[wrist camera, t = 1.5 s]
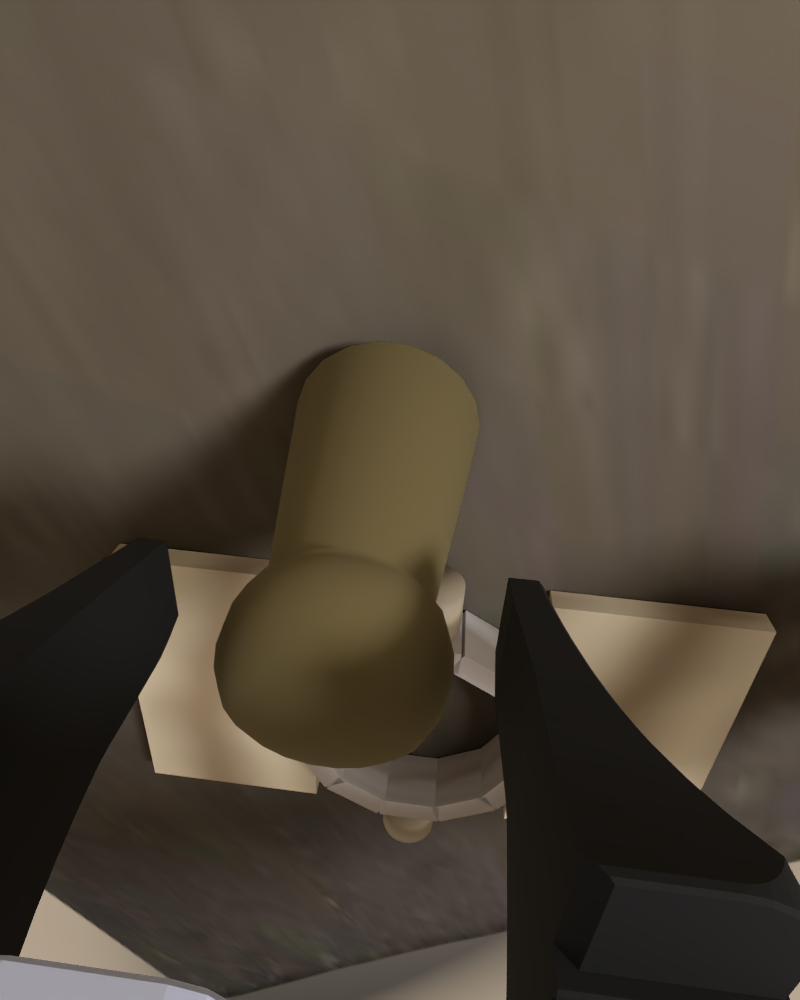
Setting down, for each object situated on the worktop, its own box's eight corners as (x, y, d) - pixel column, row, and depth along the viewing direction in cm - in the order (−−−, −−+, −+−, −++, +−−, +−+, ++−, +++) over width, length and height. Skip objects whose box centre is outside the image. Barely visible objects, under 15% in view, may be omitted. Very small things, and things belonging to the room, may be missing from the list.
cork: (345, 511, 24) (266, 812, 16) (263, 374, 20) (106, 668, 12) (503, 472, 22) (509, 793, 14) (442, 314, 18) (401, 616, 10)
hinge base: (772, 599, 24) (801, 647, 22) (666, 829, 31) (680, 882, 29) (117, 528, 25) (83, 567, 23) (165, 764, 33) (143, 809, 31)
